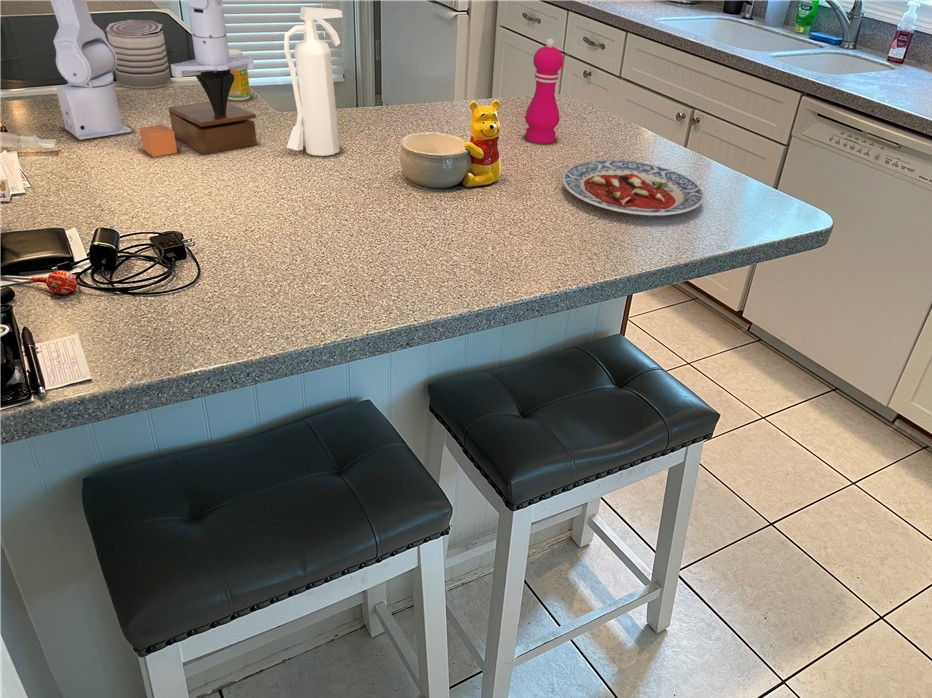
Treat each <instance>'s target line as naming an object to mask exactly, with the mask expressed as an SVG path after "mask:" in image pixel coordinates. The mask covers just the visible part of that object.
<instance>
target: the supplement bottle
mask: <svg viewBox="0 0 932 698" xmlns="http://www.w3.org/2000/svg"><path fill="white" fill-rule="evenodd" d="M228 51H229V57H242V56H243V51H242V50H241V49H237V48H236V49H235V48H228ZM248 71H249V70H248V69H242V70H234V71H230V72H231V73H232V74H233V75H234V82H233V84H232V86H231V89H230V92H229V95H228V101H235V102H236V101H237V102H239V101H247V100H249V99H250V98H251V91H250V81H249V73H248Z"/></svg>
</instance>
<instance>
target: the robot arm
mask: <svg viewBox="0 0 932 698" xmlns="http://www.w3.org/2000/svg"><path fill="white" fill-rule="evenodd" d="M49 1H50V3H51V7H52V10H53V12H54V15H55V19H56V21H57V25H58V29H57V31H56V32H55V33H56V34H55V36H54V39H53V45H54V48H55V65H56V68H57V70H58V72H59V74H60V75H61V76H62V77H63V78H64V80H65V81H67V83H66V84H61V85H58V86H57V88H56V94H57V100H58V104H59V107H60V112H61V115H62V119H63V123H64V130H66V131H68V133H70V134H71V135H73V136H74V137H75V138H77V139H78V140H88V139H94V138H101V137H107V136H114V135H121V134H128V133H131V132H132V129H131V128H130V127H128V126H127V125H125V124H124V123H123V121H122V116H121V111H120V107H119V101H118V97H117V92H116V87H115V83H114V78H115V77H114V76H115V75H114V72H115V68H116V66H117V57H116V54H115V52H114V50H113V48H112V47H111V46H110V45H109V41H108V38H107V37H106V34H105V31H104V30H103V29H102V28H100V27H99V26H98V25H96V24H95V23H94V21H93V18H92V16H91V13H90V9H89V7H88V3H87V0H49ZM186 5H187V11H188V12H187V13H188V18H189V25H190V32H191V39H192V46H193V52H194V59H191V60H186V61H182V62H181V61H180V62H177V63H171V64H170V68H171V69H170V70H171V76H172V77H174V78H176V79H183V77H190V76H195V78H196V79H197V80H198V81H197V82H199V84H200V85H201V87H202V89H203V91H204V92H205V94H206V96H207V98H208V100H209V101H210V103H211V105H212V108H213V111H214V113H215V114H217V115H219V116H220V115H226V107H227V102H228V101H229V99H228V95H229V92H230V89H231V86H232V84H233V82H234V75H233V74H232V73H231V72H230V71H234V70H242V69H247V71H250V70H255V64H254V58H253V57H251V56H248V55H244V56H243V55H242V57H229V51H228V49H229V45H228V37H227V27H226V20H225V18H226V17H225V10H224V3H223V0H186Z"/></svg>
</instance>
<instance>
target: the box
mask: <svg viewBox="0 0 932 698" xmlns="http://www.w3.org/2000/svg"><path fill="white" fill-rule="evenodd" d="M168 112H169V111H168ZM169 118H170V125H171V130H173V131H174V135H175V138H177V139H178V140H181V141H183V142H184V143H185V144H186V145H188V146H189V147H192V148H193V149H195V150H197V151H198V152H200V153H201V154H203V155H208V154H214V153H218V152H223V151H224V152H225V151H230V150H235V149H241V148H246V147H253V146H257V145H258V143H257V142H258V141H257V134H256V126H255V125H256V124H255V121H254V120H253V119H248V120H241V121H235V122H229V123H223V124H216V125H210V126H204V127H202V126H199V125H197V124H195V123H193V122H191V121H189V120H187V119H184V118H182V117H180V116H178V115H176V114H174V113H172V112H169Z"/></svg>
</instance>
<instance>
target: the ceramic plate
mask: <svg viewBox="0 0 932 698" xmlns="http://www.w3.org/2000/svg"><path fill="white" fill-rule="evenodd" d="M561 179H562V184H563V186H564V187H565V189H566V190H567V191H568V192H569V193H570V194H571V195H574V196H575V197H576V198H578V199H580V200H582V201H584V202H586V203H589V204H592V205H594V206H595V207H599V208H603V209H607V210H610V211H614V212H619V213H624V214H631V215H640V216H670V215H671V216H672V215H679V214H683V213H687V212H690V211H692V210H694V209H696V208H698V207H700V205H701V204H702V203H703V202H704V199H705V193H704V191H703V189H702V188H701V187H700V185H698V183H696V182H695V181H693V180H692V179H690V178H688V177H687V176H685V175H683V174H681V173H678V172H676V171H674V170H671V169H668V168H665V167H661V166H657V165H654V164H649V163H644V162H637V161H629V160H617V159H616V160H615V159H613V160H612V159H607V160H604V159H603V160H592V161H586V162H582V163H579V164H578V163H577V164H576V165H573V166H571V167H569V168H568V169H566V171H564V172H563V174H562V177H561Z"/></svg>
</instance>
